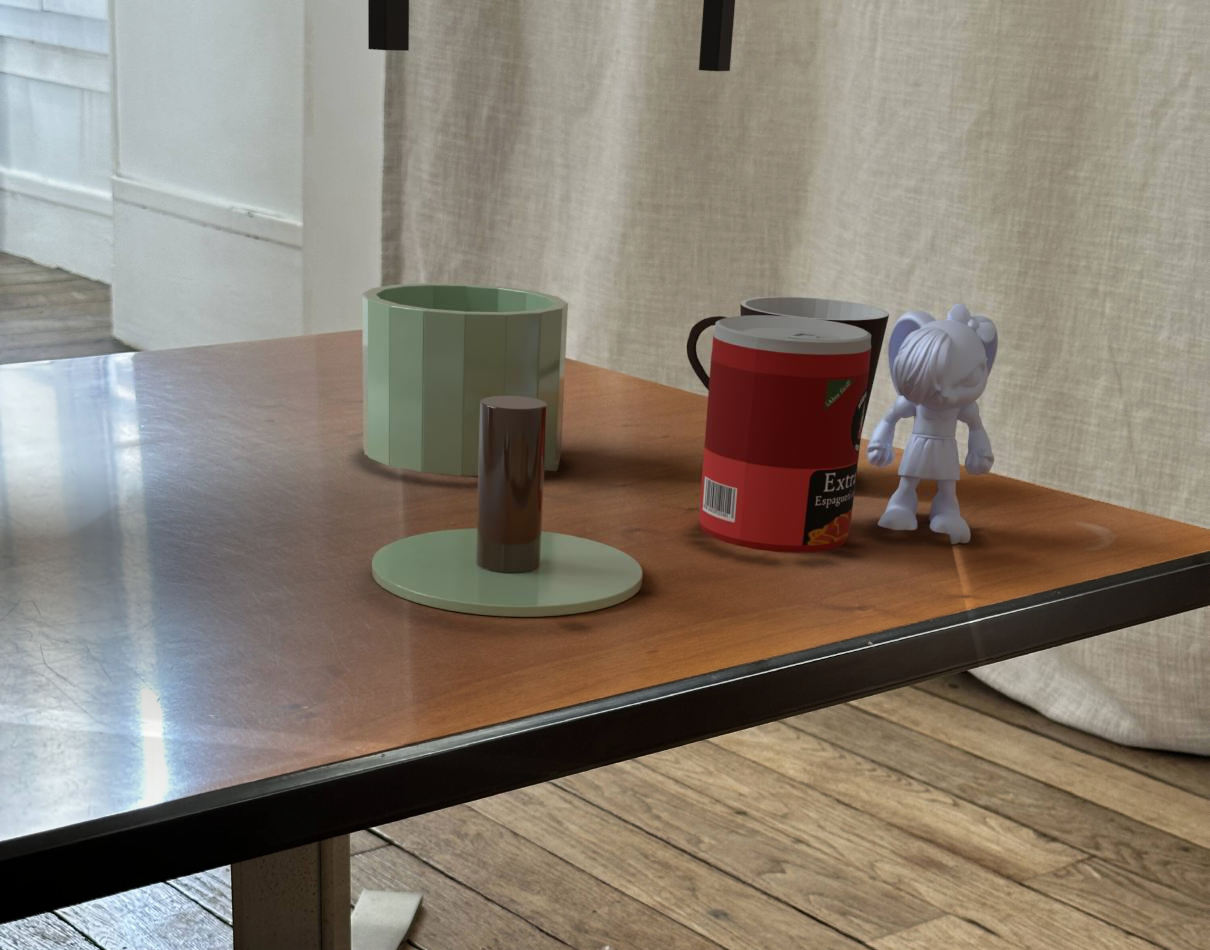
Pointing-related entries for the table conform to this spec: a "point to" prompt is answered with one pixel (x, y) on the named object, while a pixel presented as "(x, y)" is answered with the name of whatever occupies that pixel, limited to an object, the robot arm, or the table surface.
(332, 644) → the table surface
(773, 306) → the coffee mug
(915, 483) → the toy figurine
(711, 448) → the canned food
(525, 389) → the canister
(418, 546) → the lid
